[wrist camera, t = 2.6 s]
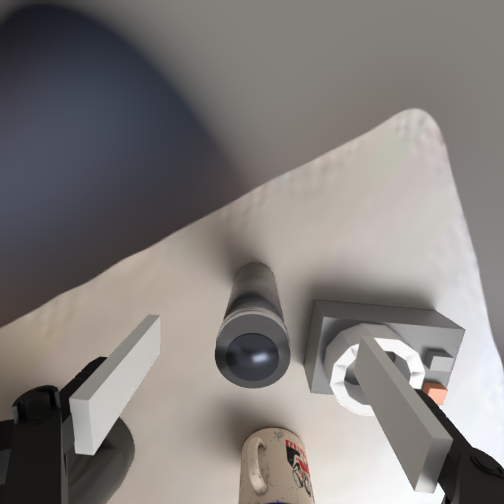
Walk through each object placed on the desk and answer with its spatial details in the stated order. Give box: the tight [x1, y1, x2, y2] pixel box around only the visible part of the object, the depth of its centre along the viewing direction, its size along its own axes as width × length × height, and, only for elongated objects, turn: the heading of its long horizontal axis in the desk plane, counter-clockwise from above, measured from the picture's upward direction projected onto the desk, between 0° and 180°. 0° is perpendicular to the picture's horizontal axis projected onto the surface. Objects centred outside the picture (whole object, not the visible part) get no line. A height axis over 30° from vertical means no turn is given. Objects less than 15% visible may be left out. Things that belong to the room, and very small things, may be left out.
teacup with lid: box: [239, 428, 315, 504], centre depth 27 cm, size 12×9×12 cm
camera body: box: [304, 300, 465, 416], centre depth 25 cm, size 14×9×6 cm, turn 85°
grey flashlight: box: [215, 262, 291, 388], centre depth 21 cm, size 5×5×13 cm
